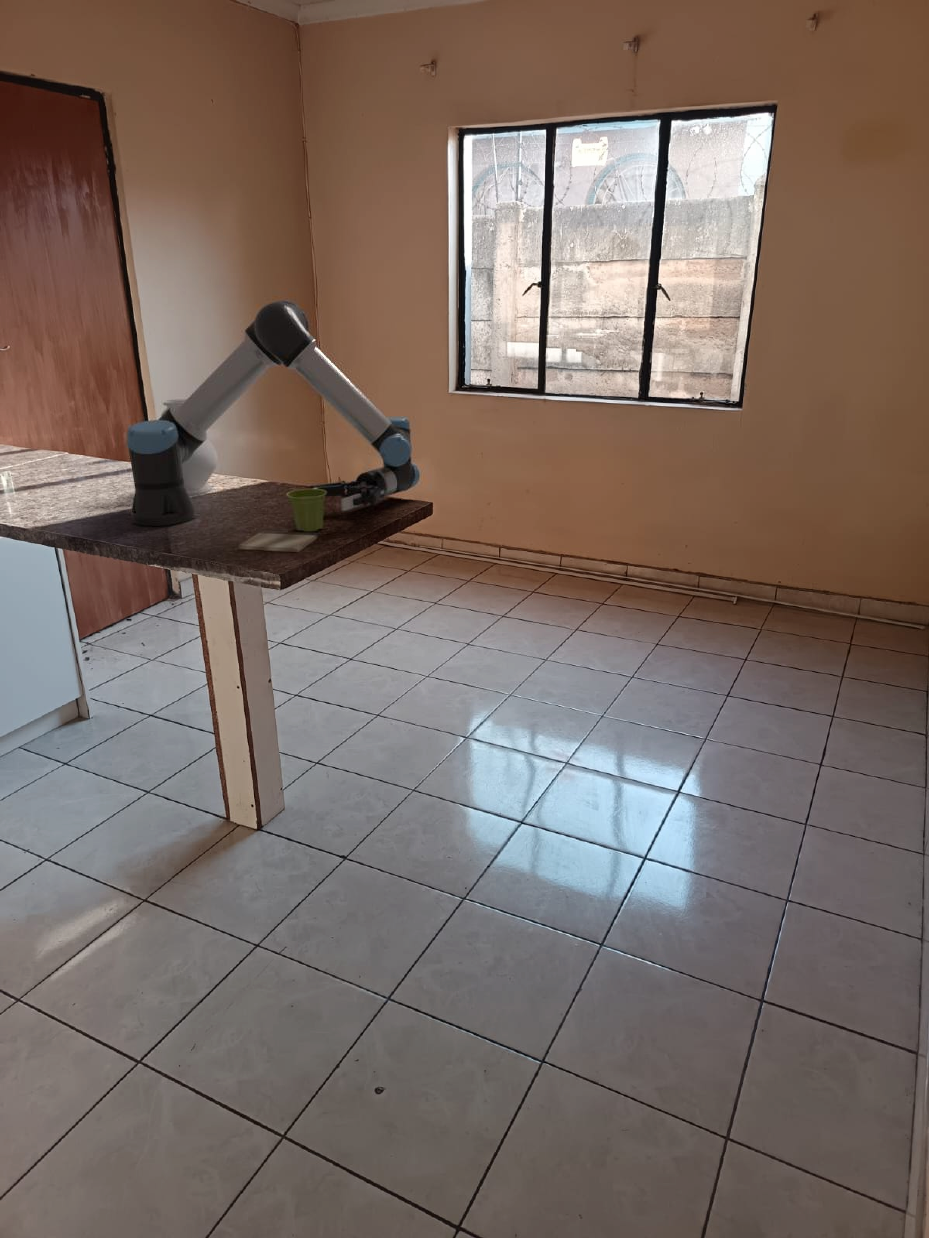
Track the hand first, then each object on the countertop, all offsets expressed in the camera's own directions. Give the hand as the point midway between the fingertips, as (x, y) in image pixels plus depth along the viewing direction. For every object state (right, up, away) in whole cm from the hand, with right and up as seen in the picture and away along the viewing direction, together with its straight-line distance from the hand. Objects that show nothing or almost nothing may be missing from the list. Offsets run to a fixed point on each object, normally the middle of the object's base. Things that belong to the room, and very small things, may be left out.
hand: (320, 501), depth 206 cm
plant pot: (-3, -7, -1) cm, 7 cm away
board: (-7, -11, -12) cm, 17 cm away
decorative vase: (-44, +8, +40) cm, 60 cm away
